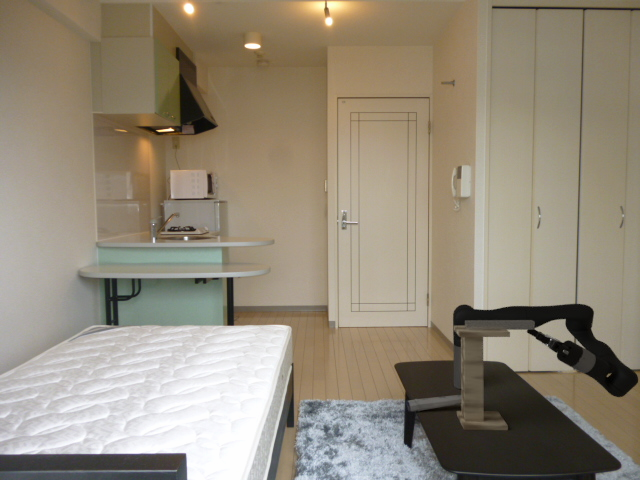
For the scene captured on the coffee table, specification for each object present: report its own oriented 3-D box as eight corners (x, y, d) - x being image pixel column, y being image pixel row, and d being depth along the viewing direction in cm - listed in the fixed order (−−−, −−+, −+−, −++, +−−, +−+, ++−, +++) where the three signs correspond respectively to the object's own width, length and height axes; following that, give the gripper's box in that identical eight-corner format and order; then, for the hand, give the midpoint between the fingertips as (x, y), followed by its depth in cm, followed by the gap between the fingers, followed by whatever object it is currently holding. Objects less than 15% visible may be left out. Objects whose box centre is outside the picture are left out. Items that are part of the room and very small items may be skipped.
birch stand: (453, 414, 175) (453, 324, 173) (500, 415, 173) (500, 324, 172) (460, 429, 163) (460, 333, 161) (511, 430, 161) (510, 333, 160)
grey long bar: (464, 327, 168) (464, 320, 168) (531, 327, 166) (531, 320, 166) (466, 329, 166) (466, 322, 165) (534, 329, 164) (534, 321, 164)
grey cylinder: (405, 398, 181) (472, 387, 182) (408, 415, 182) (475, 404, 182) (408, 403, 176) (477, 392, 176) (411, 421, 177) (480, 410, 177)
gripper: (572, 341, 171) (531, 318, 172) (592, 353, 157) (546, 327, 158) (561, 360, 172) (519, 336, 173) (579, 373, 158) (534, 347, 158)
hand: (532, 332), depth 165 cm, fingers open, 8 cm apart
